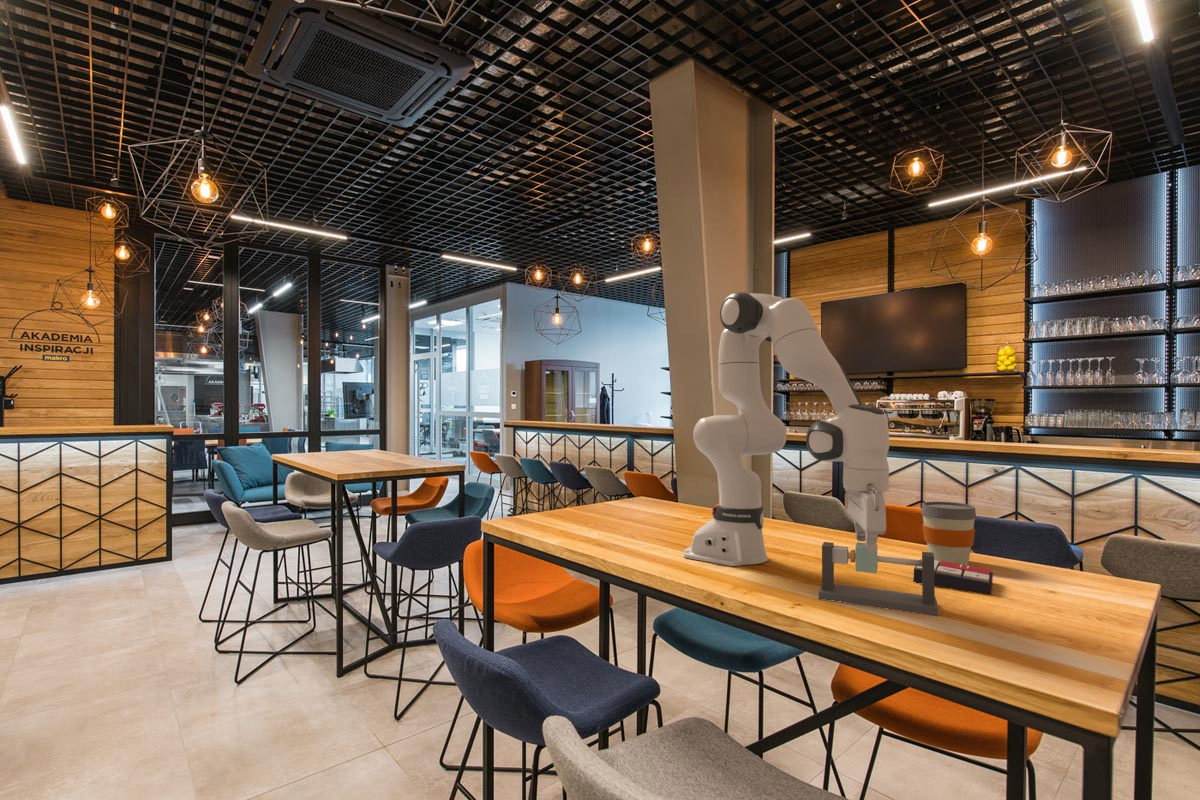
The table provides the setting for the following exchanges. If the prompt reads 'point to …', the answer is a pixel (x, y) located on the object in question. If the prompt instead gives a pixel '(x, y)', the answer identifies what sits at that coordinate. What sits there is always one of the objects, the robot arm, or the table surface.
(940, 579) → the calculator
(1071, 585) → the table surface
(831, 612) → the table surface
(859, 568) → the sleeve
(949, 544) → the reusable coffee cup
